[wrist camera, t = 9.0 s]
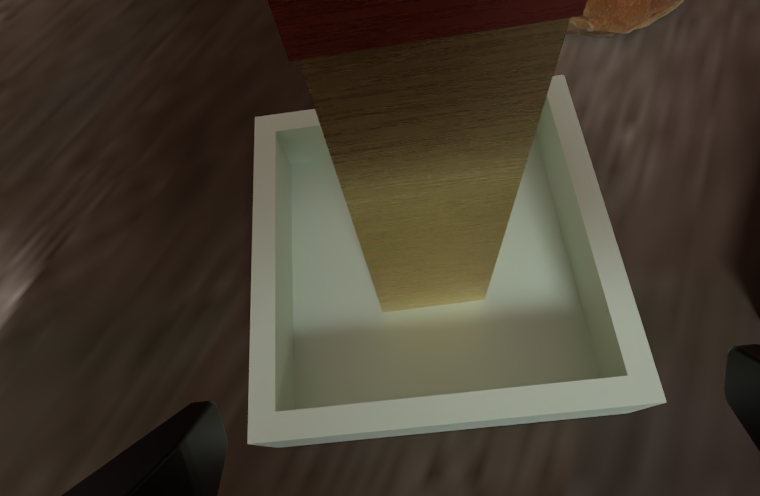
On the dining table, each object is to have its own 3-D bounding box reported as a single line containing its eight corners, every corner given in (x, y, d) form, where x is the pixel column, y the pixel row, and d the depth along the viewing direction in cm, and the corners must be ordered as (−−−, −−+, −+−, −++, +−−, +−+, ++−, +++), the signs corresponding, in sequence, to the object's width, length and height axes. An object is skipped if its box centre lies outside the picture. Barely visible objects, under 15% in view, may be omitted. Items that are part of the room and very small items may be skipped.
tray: (627, 413, 16) (666, 402, 13) (277, 447, 17) (247, 444, 14) (547, 125, 21) (563, 74, 18) (277, 161, 21) (254, 116, 19)
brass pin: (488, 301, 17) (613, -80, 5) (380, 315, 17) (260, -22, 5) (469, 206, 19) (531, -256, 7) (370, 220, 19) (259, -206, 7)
